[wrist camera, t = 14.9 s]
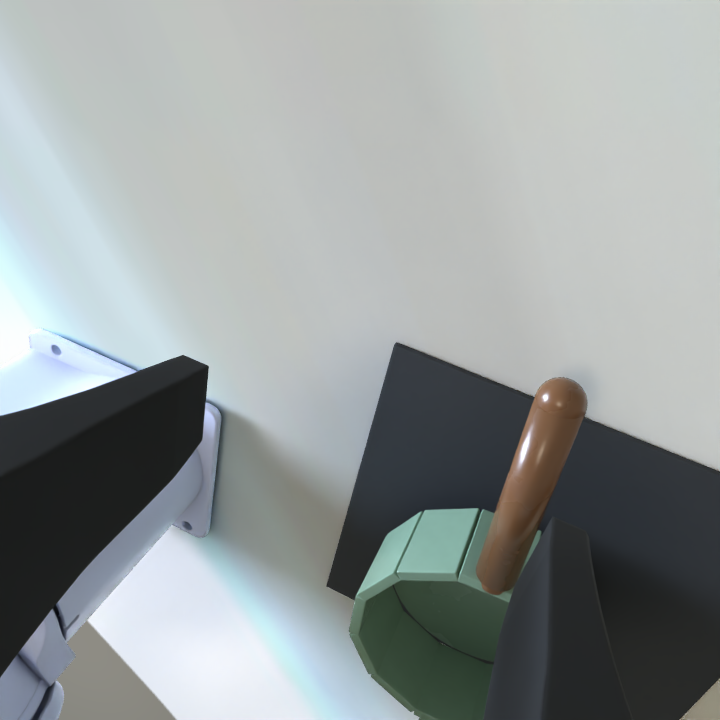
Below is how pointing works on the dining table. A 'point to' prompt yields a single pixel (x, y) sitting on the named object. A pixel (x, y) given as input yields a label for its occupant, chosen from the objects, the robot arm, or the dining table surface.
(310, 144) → the dining table surface
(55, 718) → the robot arm
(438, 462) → the mat
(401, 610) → the frying pan
